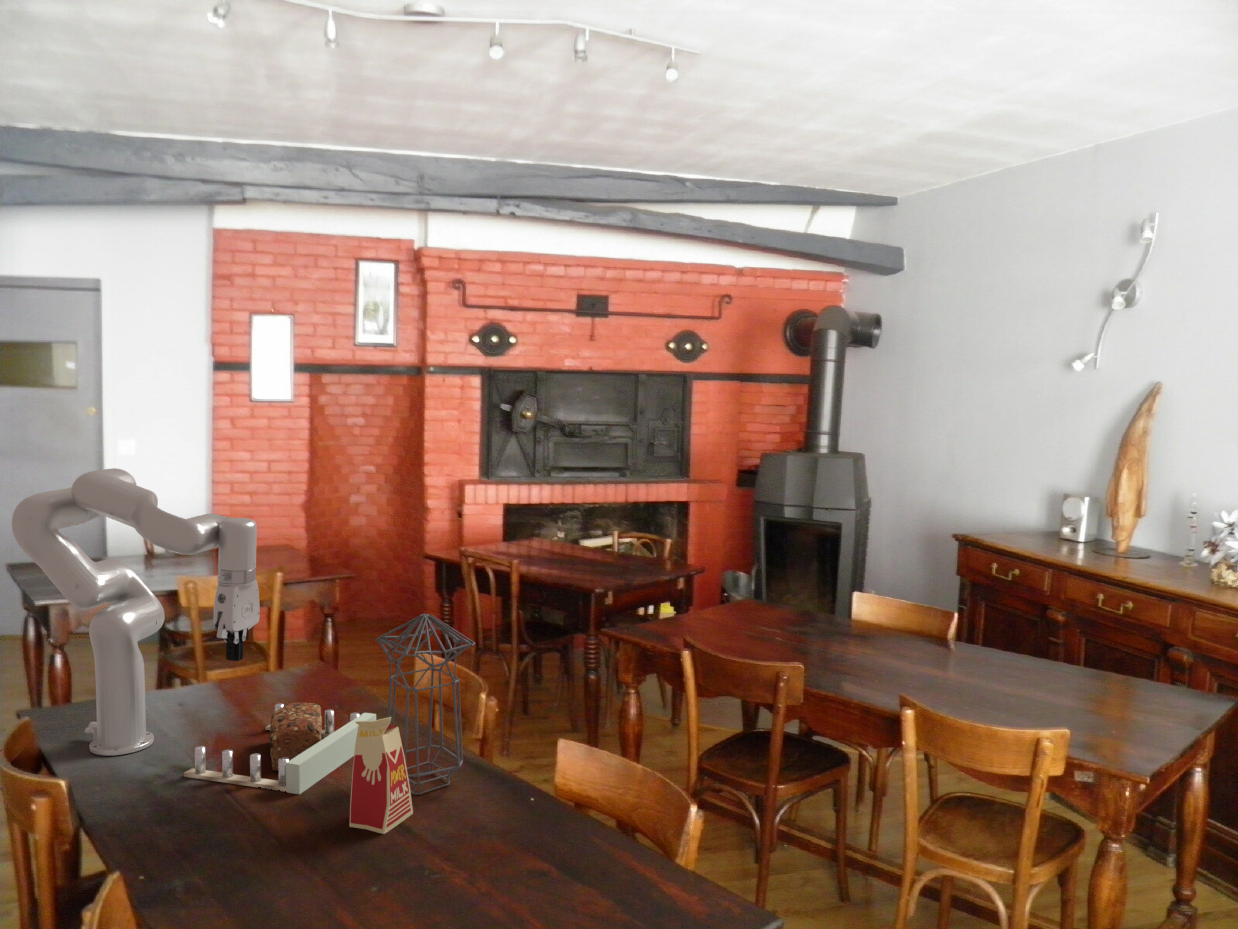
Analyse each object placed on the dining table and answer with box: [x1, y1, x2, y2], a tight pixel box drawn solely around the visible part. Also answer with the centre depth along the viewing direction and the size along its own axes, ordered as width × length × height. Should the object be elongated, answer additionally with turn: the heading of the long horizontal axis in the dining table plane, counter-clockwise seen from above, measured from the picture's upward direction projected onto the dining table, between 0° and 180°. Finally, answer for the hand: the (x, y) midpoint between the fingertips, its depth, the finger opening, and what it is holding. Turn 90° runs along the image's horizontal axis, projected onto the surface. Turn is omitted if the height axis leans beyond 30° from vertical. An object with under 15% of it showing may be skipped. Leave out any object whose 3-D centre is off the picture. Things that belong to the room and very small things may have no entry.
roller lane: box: [183, 702, 377, 795], centre depth 205 cm, size 27×30×6 cm
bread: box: [269, 702, 323, 772], centre depth 207 cm, size 19×11×10 cm, turn 17°
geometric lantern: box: [374, 613, 476, 796], centre depth 192 cm, size 16×16×35 cm
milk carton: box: [348, 716, 414, 835], centre depth 176 cm, size 9×9×20 cm
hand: (234, 659), depth 206 cm, fingers closed
